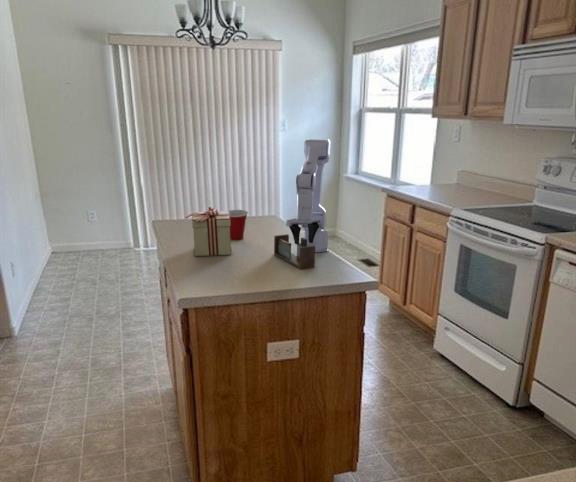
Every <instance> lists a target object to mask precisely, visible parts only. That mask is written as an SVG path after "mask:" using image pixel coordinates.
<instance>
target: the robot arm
mask: <svg viewBox="0 0 576 482" xmlns="http://www.w3.org/2000/svg"><path fill="white" fill-rule="evenodd" d="M303 142H304V143H303V153H304V157H305V161H303V163H302V165H301V169H300V172H299V174H297V175H296V177H295V188H296V196H297V197H296V198H297V199H296V205H297V206H296V217H295V218H292V219H286V220H285V226H287V227H289V229H290V231H291V234H292V237H293V242H294V245H296V246H297V245H299V243H300V235H301V230H302V229H303V231H304V232H303V233H304V234H303V235H304V237H303V238H305V239H307V247H309V246H315V253H322V252H329V249H328V245H329V243H328V242H329V233H328V231H327V229H326V225H327V211H326V209H325V208H324V207H323V206H322V205H321V200H322V199H321V198H322V187H323V186H322V185H323V176H324V175H323V173H324V167H325V164H328V163H329V162H330V158H331V157H330V156H331V140H330V139H310V138H306V139H305V140H304V141H303Z"/></svg>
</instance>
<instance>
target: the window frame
mask: <svg viewBox="0 0 576 482" xmlns="http://www.w3.org/2000/svg"><path fill="white" fill-rule="evenodd" d="M273 238H274V239H273V241H274V242H273V256H275V257H277V258H279V259H281V260H282V261H284V262H286V263H288V264H290V265H292V266H294V267H296V268H297V269H299V270H306V269H313V268H315V265H316V252H315V246H309V247H301V248H300V258H299V259H297V258H296V257H297V254H294V253H292V243H291V242H290V235H289V233H287V234H277V235H274V236H273Z"/></svg>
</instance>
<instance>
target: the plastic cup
mask: <svg viewBox="0 0 576 482" xmlns="http://www.w3.org/2000/svg"><path fill="white" fill-rule="evenodd" d="M227 211H228V212H229V215H230V240H233V241H240V240H243V239H244V235H245V230H246V229H245V228H246V223H247V222H246V221H247V217H248V214H249V211H247V210H244V209H230V210H227Z"/></svg>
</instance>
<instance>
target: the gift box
mask: <svg viewBox="0 0 576 482" xmlns="http://www.w3.org/2000/svg"><path fill="white" fill-rule="evenodd" d="M228 211H229V210H222V211H221V210H220V211H218V209H216V208H213V207H211V206H208V210H206V211H193V212H192V213H189V214H188V215H186V216H185V217H184V219H188V218H190V217H191V216H192V217H191V225H192V229H193V244H194V257H202V256H203V257H207V256H208V257H209V256H210V257H211V256H231V255H232V245H231V239H230V215H229V212H228Z"/></svg>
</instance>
